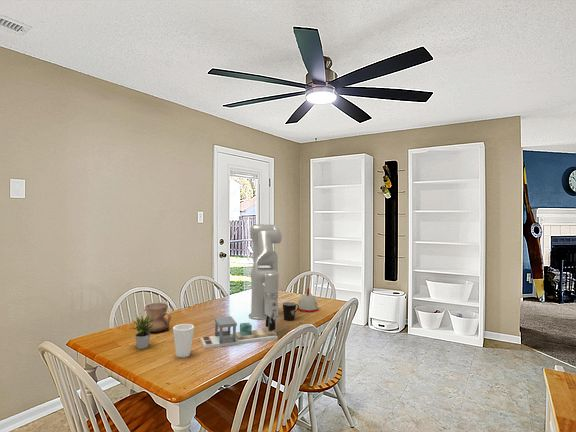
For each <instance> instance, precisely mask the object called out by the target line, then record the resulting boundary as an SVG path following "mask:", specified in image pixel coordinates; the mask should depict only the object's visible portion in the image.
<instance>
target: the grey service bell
mask: <svg viewBox="0 0 576 432" xmlns="http://www.w3.org/2000/svg"><path fill="white" fill-rule="evenodd" d="M298 305H299V308H298V307H297V308H298V310H297V311H298V312H301V313H306V314H307V313H316V312H318V311H319V310H318V309H319V308H318V305H319V304H318V300H317V299H316V298H315V295H313V294H312V293H310V287H308V288H307V291H306V293H304V294H303V295H302V296H301V298H299V300H298Z"/></svg>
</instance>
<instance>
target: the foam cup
mask: <svg viewBox="0 0 576 432" xmlns="http://www.w3.org/2000/svg"><path fill="white" fill-rule="evenodd" d="M194 332H195V325H193V324H192V323H191V324H190V323H181V324H176V325H174V326H173V328H172V333H173V339H174V349H175V356H176V357H177V358H187V357H189V356H190V355H191V350H192V346H193V345H192V344H193V339H194Z"/></svg>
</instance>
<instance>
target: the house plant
mask: <svg viewBox="0 0 576 432" xmlns="http://www.w3.org/2000/svg"><path fill="white" fill-rule="evenodd" d="M140 316H141V318H139V317H138V316H137V315H136V314H135V318H136V320H133V319H130V320H131V321H132V322H133V323H134V324H135V325H136V326H135V327H134V326H131V327H130V328H128V329H129V330H136V331H137V333H135V335H134V338H135V342H136V348H137V349H138V350H143V349H147V348H149V345H150V340H151V339H150V338H151V333H152V332H148V330H149V328H153V329H155V328H154V327H153V326H154V325H153V324H152V325H151V324H150V323H152V321H153V320H154V318H155V317H154V318H152V319H151V320H150V321H149V322H148V320H149V316H150V315H148V314H146V317H145V318H144V317H143V314H142V313H140ZM156 317H158V316H156ZM155 320H156V318H155ZM147 323H148V324H147ZM146 324H147V325H146ZM154 324H155V323H154ZM149 325H151V326H149ZM148 326H149V327H148Z"/></svg>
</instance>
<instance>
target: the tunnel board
mask: <svg viewBox="0 0 576 432" xmlns="http://www.w3.org/2000/svg"><path fill="white" fill-rule="evenodd" d="M214 323H215V324H214V335H211V336H209V335H208V336H202V337H201V336H200V343H201V344H202V346H203V347H202V348H204V350H205V349H213V348H219V347H228V346H237V345H243V344H251V343H259V342H260V343H261V342H268V341H274V340H275V341H276V340H278V339H279V338H278V337H279V336H278V335H277V334H276V335H270V336H262V337H254V338H246V339H238V338H237V337H236V332H237V326H238V323H237V322H236V320H235V319H234V318H233V316H231V315H228V316H220V317H214ZM224 328H225V329H226V328H227V330H224ZM231 328H232V333H231Z"/></svg>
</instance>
